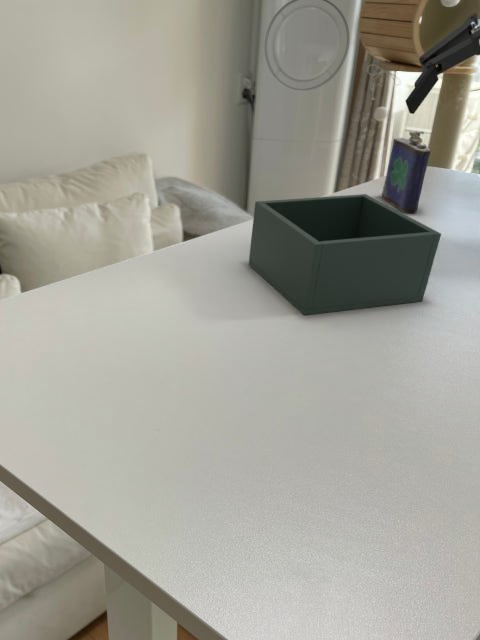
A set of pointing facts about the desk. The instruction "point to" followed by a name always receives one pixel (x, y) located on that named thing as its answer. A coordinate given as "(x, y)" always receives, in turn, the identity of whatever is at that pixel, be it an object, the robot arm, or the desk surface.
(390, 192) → the flask
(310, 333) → the desk surface
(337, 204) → the bin
